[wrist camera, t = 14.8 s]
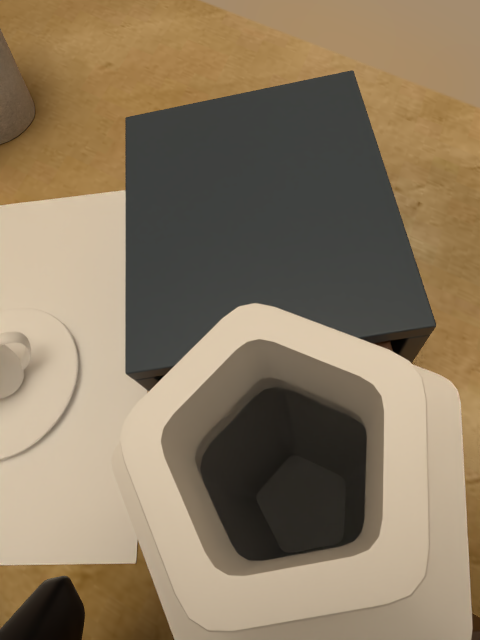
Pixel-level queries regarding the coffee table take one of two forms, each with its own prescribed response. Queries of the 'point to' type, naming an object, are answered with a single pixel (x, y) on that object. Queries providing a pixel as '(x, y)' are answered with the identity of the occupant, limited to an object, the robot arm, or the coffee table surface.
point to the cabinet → (264, 222)
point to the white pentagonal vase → (299, 488)
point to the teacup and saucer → (63, 381)
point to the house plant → (13, 97)
